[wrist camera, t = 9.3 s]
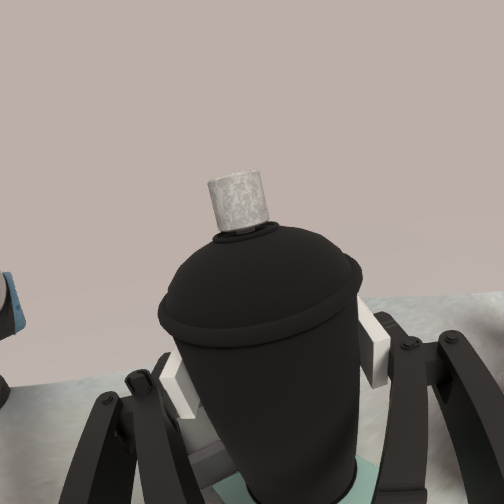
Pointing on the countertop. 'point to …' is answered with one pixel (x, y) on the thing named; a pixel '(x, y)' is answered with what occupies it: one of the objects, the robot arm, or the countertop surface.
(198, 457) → the grey square tray
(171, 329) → the aerosol can
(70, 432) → the countertop surface
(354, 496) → the occupied pad
